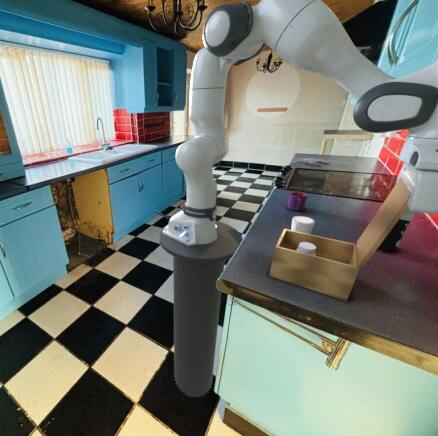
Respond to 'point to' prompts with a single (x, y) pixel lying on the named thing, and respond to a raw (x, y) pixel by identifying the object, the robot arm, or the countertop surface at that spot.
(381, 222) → the chest lid
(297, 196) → the mug
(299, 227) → the white fluted cylinder
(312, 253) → the supplement bottle
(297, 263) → the chest
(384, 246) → the beverage can
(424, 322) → the countertop surface
